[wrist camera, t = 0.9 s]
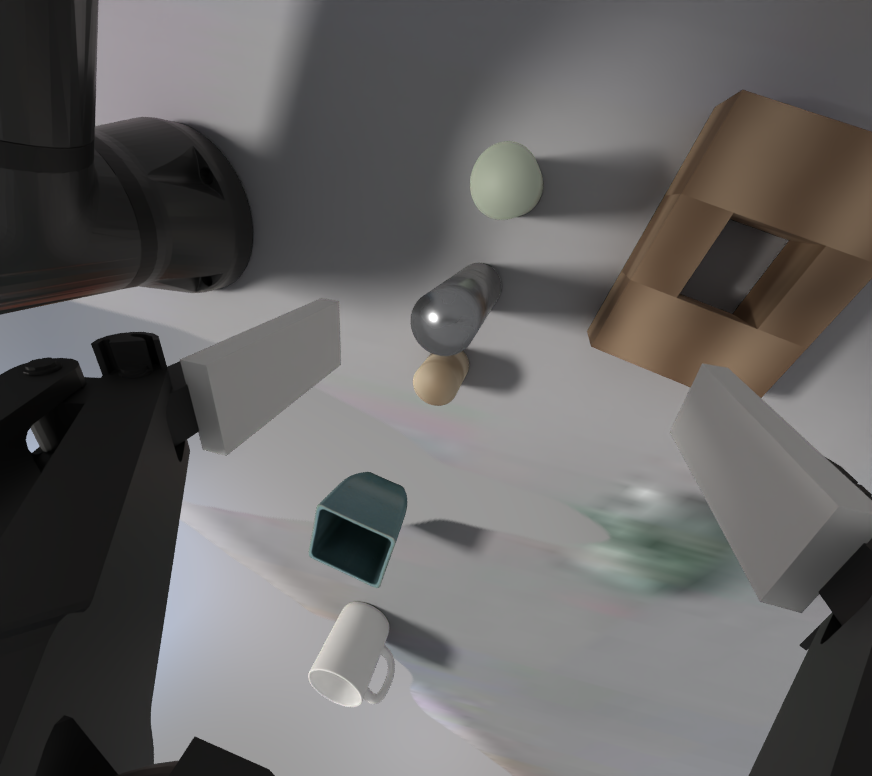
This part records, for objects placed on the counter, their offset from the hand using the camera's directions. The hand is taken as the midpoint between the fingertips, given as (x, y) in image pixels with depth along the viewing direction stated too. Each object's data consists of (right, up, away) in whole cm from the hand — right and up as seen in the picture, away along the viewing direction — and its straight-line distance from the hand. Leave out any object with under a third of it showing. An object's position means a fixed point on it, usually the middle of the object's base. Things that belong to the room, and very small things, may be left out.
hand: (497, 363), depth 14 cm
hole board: (+18, +8, +13) cm, 24 cm away
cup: (-12, -39, +46) cm, 62 cm away
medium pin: (+4, +14, +15) cm, 21 cm away
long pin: (+1, +8, +19) cm, 20 cm away
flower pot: (-9, -14, +33) cm, 37 cm away
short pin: (-1, +1, +23) cm, 23 cm away
